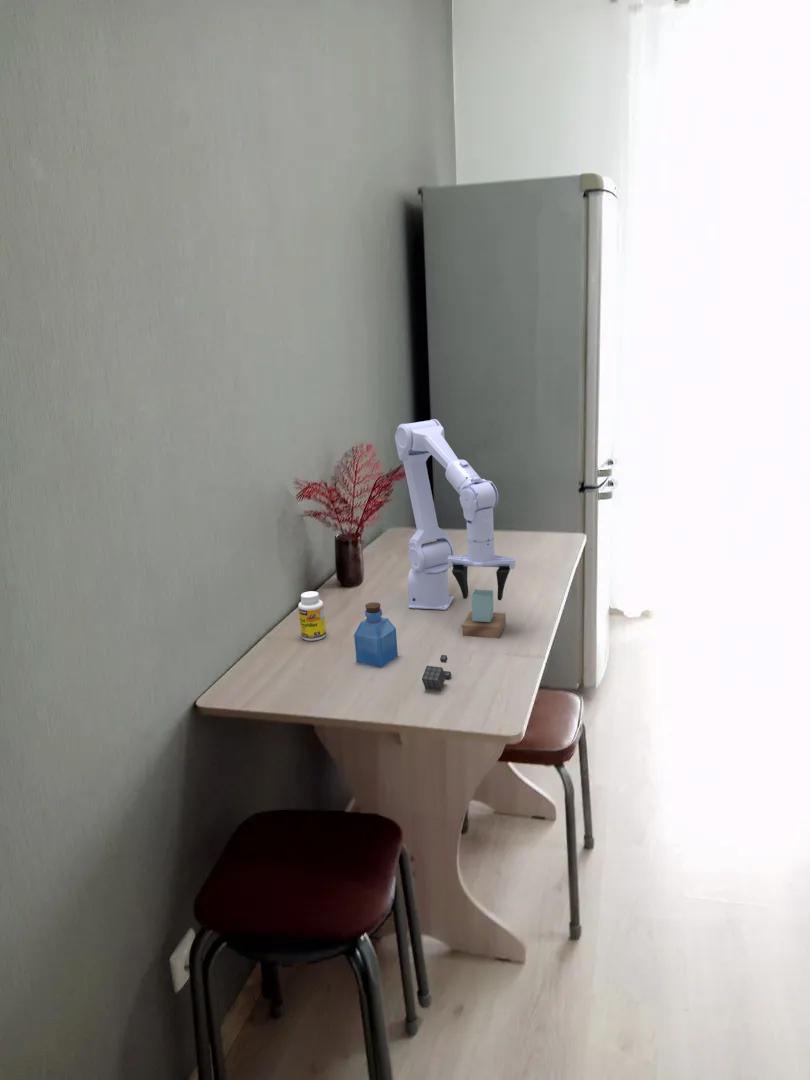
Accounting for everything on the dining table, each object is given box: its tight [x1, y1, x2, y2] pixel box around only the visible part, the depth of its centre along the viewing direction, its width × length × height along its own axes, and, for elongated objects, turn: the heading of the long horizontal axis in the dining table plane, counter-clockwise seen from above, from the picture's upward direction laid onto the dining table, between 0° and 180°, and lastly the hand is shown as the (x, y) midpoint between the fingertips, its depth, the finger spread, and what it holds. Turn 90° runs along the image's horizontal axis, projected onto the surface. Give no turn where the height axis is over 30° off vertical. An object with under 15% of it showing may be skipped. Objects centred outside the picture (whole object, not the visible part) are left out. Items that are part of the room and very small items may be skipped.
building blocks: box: [421, 654, 452, 692], centre depth 157 cm, size 3×6×8 cm
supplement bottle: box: [297, 590, 327, 642], centre depth 181 cm, size 6×6×10 cm
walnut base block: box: [461, 611, 507, 639], centre depth 180 cm, size 8×8×3 cm
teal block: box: [471, 589, 494, 622], centre depth 179 cm, size 4×4×6 cm
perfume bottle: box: [353, 601, 399, 669], centre depth 168 cm, size 6×6×12 cm
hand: (482, 597), depth 178 cm, fingers open, 7 cm apart
